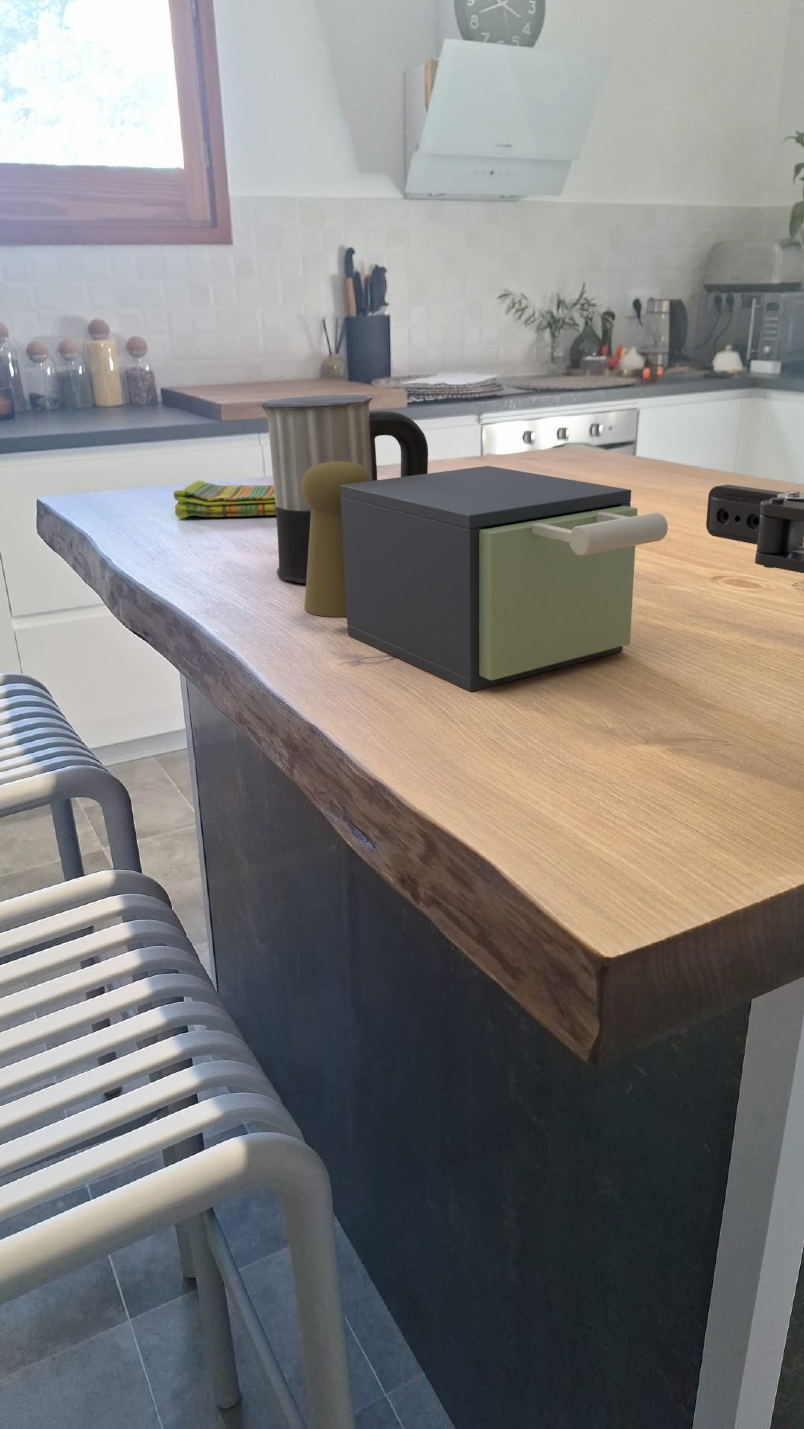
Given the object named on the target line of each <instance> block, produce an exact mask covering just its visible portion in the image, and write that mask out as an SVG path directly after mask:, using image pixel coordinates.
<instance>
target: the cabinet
mask: <svg viewBox="0 0 804 1429" xmlns="http://www.w3.org/2000/svg"><path fill="white" fill-rule="evenodd" d="M340 488H341V510H342V530H343V550H344V569H345V589H346V609H347V617H346V624H347V635H348V636H349V637H351V638H354V639H356V640H358V641H360V642H362V643H365V644H367V645H369V646H371V647H373V648H375V649H377V650H380V651H382V652H384V653H386V654H388V655H389V656H392V657H395V658H397V659H399V660H401V661H403V662H405V663H408V664H410V665H412V666H414V667H416V668H419V669H421V670H422V671H425V672H428V673H430V674H432V675H434V676H436V677H438V678H440V679H442V680H444V681H446V682H449V683H450V684H453V685H455V686H457V687H460V688H461V689H464V690H466V691H468V692H474V691H478V690H481V689H485V688H489V687H494V686H497V685H500V684H504V683H508V682H511V681H515V680H519V679H523V678H526V677H531V676H534V675H538V674H542V673H546V672H549V671H553V670H556V669H560V668H564V667H568V666H572V665H576V664H579V663H582V662H583V663H584V662H586V661H591V660H595V659H598V658H601V657H605V656H609V655H613V654H616V653H621V652H623V650H624V646H621V647H617V648H613V649H609V650H605V651H602V652H598V653H594V654H590V655H586V656H583V657H579V658H575V659H571V660H567V661H564V662H560V663H556V664H552V665H548V666H545V667H541V668H537V669H533V670H529V671H526V672H522V673H518V674H514V675H510V676H507V677H503V678H499V679H495V680H488V679H486V678H484V677H481V676H480V675H479V530H481V528H480V527H486V526H492V525H498V524H504V523H510V522H516V521H522V520H528V519H534V518H540V517H546V516H552V515H558V514H564V513H570V512H576V511H582V510H588V509H594V508H600V510H602V509H608V508H613V507H619V506H628V507H631V502H632V490H631V489H628V488H623V487H616V486H610V485H605V484H599V483H592V482H586V481H581V480H576V479H570V478H569V479H568V478H563V477H556V476H551V475H545V474H540V473H533V472H527V471H521V470H517V469H516V470H515V469H510V468H504V467H497V466H491V465H484V466H476V467H475V466H474V467H468V468H460V469H453V470H444V471H437V472H436V471H435V472H430V473H429V472H428V473H427V474H421V475H413V476H405V477H401V476H399V477H398V476H397V477H391V478H390V477H389V478H382V479H377V480H375V481H367V482H359V483H351V484H344V485H341V486H340Z"/></svg>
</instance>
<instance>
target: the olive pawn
mask: <svg viewBox="0 0 804 1429" xmlns="http://www.w3.org/2000/svg"><path fill="white" fill-rule="evenodd" d="M367 481H371V479H370V476H369V473H368V472H367V470H366V468H365V467H363V466H361V465H359V464H356V463H351V462H343V461H333V462H326V463H321V464H317V465H314V466H311V467H310V468H309V469H307V471H306V473H305V475H304V477H303V481H302V493H303V496H304V499H305V502H306V503H307V504H308V505H309V507H310V508H311V518H310V533H309V548H308V564H307V579H306V583H305V595H304V610H305V611H306V612H307V613H309V614H312V615H315V616H320V617H330V618H331V617H332V618H343V617H344V618H347V609H346V589H345V569H344V550H343V530H342V510H341V488H340V486H341V485H344V484H351V483H359V482H367Z"/></svg>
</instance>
